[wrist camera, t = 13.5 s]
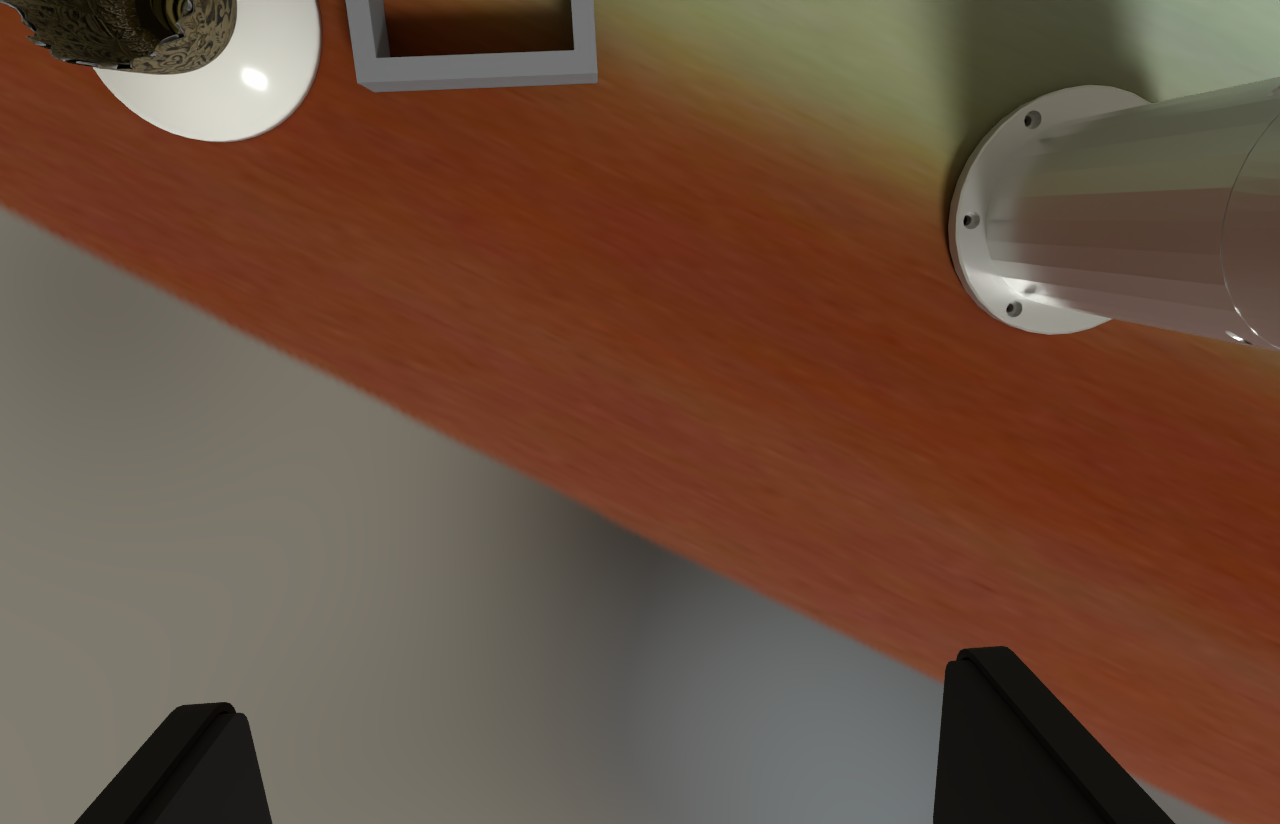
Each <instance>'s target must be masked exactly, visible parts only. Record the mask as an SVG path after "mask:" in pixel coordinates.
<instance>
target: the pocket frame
mask: <svg viewBox="0 0 1280 824" xmlns="http://www.w3.org/2000/svg"><path fill="white" fill-rule="evenodd" d="M571 6H572V22H573V37H574V50H566V51H541V52H516V53H490V54H465V55H440V56H414V57H390V49H389V42H388V34H387V26H386V19H385V11H384V3H383V0H346V7H347V14H348V21H349V28H350V35H351V42H352V49H353V56H354V63H355V70H356V77H357V83H358V84H360V85H362V86H364V87H366V88H368V89H369V90H371V91H373V92H392V91H416V90H441V89H465V88H489V87H513V86H537V85H562V84H586V83H598V73H597V56H596V39H595V21H594V4H593V0H571Z"/></svg>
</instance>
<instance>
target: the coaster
mask: <svg viewBox="0 0 1280 824" xmlns="http://www.w3.org/2000/svg"><path fill="white" fill-rule="evenodd" d="M186 9H188V0H185V2H184V4H183V8H182V12H183V11H184V10H186ZM322 38H323V29H322V18H321V11H320V7H319V2H318V0H237V20H236V25H235V29H234V33H233V35H232V37H231V40H230V42H229V43H228V45H227V47H226V48H225V49H224V51H223V52H222V53H221V54H220V55H219V56H218V57H217V58H216V59H215V60H213V61H212V62H211V63H209V64H207V65H206V66H204V67H202V68H200V69H197V70H195V71H191V72H187V73H181V74H174V75H154V74H143V73H134V72H125V71H117V70H110V69H99V68H96V67H93V68H94V70H95V71H96V73H97V74H98V75H99V77H100V78H101V80H102V81H103V82H104V84H105V85H106V86H107V87H108V88H109V89H110V90H111V92H112V93H113V94H114V95H115V96H116V97H117V98H118V99H119V100H120V101H121V102H122V103H124V104H125V105H126V106H127V107H128V108H129V109H131V110H132V111H133V112H135V113H136V114H137V115H139V116H140V117H141V118H143V119H145V120H146V121H148V122H150V123H152V124H153V125H155V126H157V127H159V128H161V129H164V130H166V131H168V132H171V133H173V134H177V135H180V136H184V137H187V138H192V139H197V140H203V141H210V142H235V141H243V140H246V139H250V138H254V137H257V136H259V135H262V134H264V133H266V132H269V131H271V130H272V129H274V128H275V127H277V126H279V125H280V124H282V123H283V122H284V121H285V120H286V119H287V118H289V117H290V116H291V115H292V114H293V113H294V112H295V111H296V109H297V108H298V107H299V106H300V105H301V104H302V102H303V101H304V99H305V97H306V96H307V94H308V93H309V91H310V89H311V87H312V84H313V82H314V80H315V78H316V74H317V71H318V67H319V64H320V58H321V52H322Z"/></svg>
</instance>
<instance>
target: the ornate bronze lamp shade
mask: <svg viewBox="0 0 1280 824" xmlns="http://www.w3.org/2000/svg"><path fill="white" fill-rule="evenodd" d="M184 2H185V0H0V3H3V4H6V5H8V6H10V7H12V8H14V9H15V10H17V11H18V13H19V14H20V15H21V17H22V23H23V24H24V25H26V26H27V27H28V28H30V29H31V30H32V31H33V32H35V34H34V35H33V36H34V37H33V36H32V37H31V36H27V38H28V39H29V40H30V41H31V42H33V43H34V44H36V45H38V46H41V47H44V48H47V49H50V53H51V56H52V57H54V58H56V59H58V60H61V61H64V62H68V63H72V64H78V65H85V66H90V67H96V68H99V69H110V70H117V71H125V72H134V73H143V74H154V75H174V74H181V73H187V72H191V71H195V70H197V69H200V68H202V67H204V66H206V65H207V64H209V63H211V62H212V61H213V60H215V59H216V58H217V57H218V56H219V55H220V54H221V53H222V52H223V51H224V49H225V48H226V47H227V45H228V43H229V42H230V40H231V37H232V35H233V33H234V29H235V25H236V20H237V0H188V9H186V10H184V11H183V12H182V8H183V4H184Z"/></svg>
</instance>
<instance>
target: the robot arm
mask: <svg viewBox="0 0 1280 824" xmlns="http://www.w3.org/2000/svg"><path fill="white" fill-rule="evenodd" d="M1024 119H1026V121H1027V123H1026V125H1025V123H1024ZM965 216H966V217H967V222H966V224H965V225H964V223H963V220H964V217H965ZM948 233H949V248H950V253H951V257H952V260H953V264H954V268H955V271H956V273H957V275H958V277H959V279H960V281H961V283H962V285H963V287H964V289H965V291H966V292H967V293H968V294H969V296H970V297H971V298H972V299H973V301H974V302H975V303H976V304H977V305H978V306H979V307H980V308H981V309H983V310H984V311H985V312H986V313H988V314H989V315H990V316H991V317H993V318H995V319H997V320H999V321H1001V322H1003V323H1005V324H1007V325H1009V326H1011V327H1015V328H1018V329H1022V330H1025V331H1028V332H1035V333H1042V334H1049V335H1050V334H1067V333H1074V332H1078V331H1082V330H1086V329H1090V328H1093V327H1095V326H1097V325H1100V324H1102V323H1104V322H1107V321H1109V320H1111V319H1117V320H1122V321H1127V322H1132V323H1137V324H1142V325H1147V326H1152V327H1157V328H1162V329H1167V330H1172V331H1177V332H1182V333H1187V334H1192V335H1197V336H1202V337H1207V338H1212V339H1217V340H1222V341H1227V342H1232V343H1237V344H1242V345H1247V346H1253V347H1258V348H1263V349H1268V350H1273V351H1278V352H1280V77H1277V78H1272V79H1267V80H1263V81H1258V82H1253V83H1248V84H1243V85H1238V86H1234V87H1229V88H1224V89H1219V90H1214V91H1209V92H1205V93H1200V94H1195V95H1190V96H1185V97H1180V98H1176V99H1171V100H1166V101H1161V102H1156V103H1150V102H1148V101H1146V100H1145V99H1143V98H1141V97H1139V96H1138V95H1136V94H1134V93H1132V92H1129V91H1126V90H1122V89H1119V88H1115V87H1112V86H1099V85H1084V86H1077V87H1070V88H1064V89H1061V90H1058V91H1054V92H1051V93H1047V94H1044V95H1042V96H1040V97H1037V98H1035V99H1033V100H1031V101H1029V102H1027V103H1025V104H1022V105H1021V106H1019V107H1018V108H1016V109H1015V110H1014V111H1012V112H1011V113H1009V114H1008V115H1007V116H1005V117H1004V118H1002V119H1001V120H1000V121H999V122H998V123H997V124H996V125H995V126H994V127H993V128H992V129H991V130H990V131H989V132H988V133H987V134H986V135H985V136H984V137H983V138H982V140H981V141H980V143H979V144H978V145H977V147H976V148H975V150H974V151H973V152H972V154H971V155H970V157H969V158H968V160H967V162H966V164H965V166H964V168H963V170H962V172H961V174H960V177H959V179H958V181H957V184H956V188H955V191H954V194H953V198H952V201H951V206H950V215H949V224H948ZM1008 305H1009V308H1008V310H1007V311H1006V309H1007V306H1008ZM74 824H272V820H271V816H270V812H269V808H268V803H267V799H266V795H265V790H264V786H263V782H262V778H261V773H260V769H259V765H258V761H257V756H256V752H255V748H254V743H253V739H252V735H251V731H250V726H249V722H248V720H247V717H246V716H245V715H244V714H243V713H236V711H235V709H234V707H233V706H232V705H231V704H230V703H227V702H219V703H205V704H192V705H182V706H179V707H177V708H176V709H175V710H173V712H171V713H170V714H169V715H168V717H167V718H166V719H165V720H164V721H163V722H162V723H161V725H160V726H159V727H158V728H157V729H156V730H155V731H154V733H153V734H152V735H151V736H150V737H149V738H148V740H147V741H146V742H145V743H144V744H143V745H142V747H141V748H140V749H139V750H138V751H137V752H136V754H135V755H134V756H133V757H132V758H131V759H130V760H129V761H128V762H127V764H126V765H125V766H124V767H123V768H122V769H121V771H120V772H119V773H118V774H117V775H116V777H114V779H113V780H112V781H111V782H110V783H109V784H108V785H107V787H106V788H105V789H104V790H103V791H102V792H101V794H100V795H99V796H98V797H97V798H96V799H95V801H94V802H93V803H92V804H91V805H90V806H89V807H88V808H87V810H86V811H85V812H84V813H83V814H82V815H81V816H80V818H79V819H78V820H77V821H76V822H75V823H74ZM933 824H1175V823H1174V822H1173V821H1172V820H1171V819H1170V818H1169V817H1168V815H1167V814H1166V813H1165V812H1164V811H1163V810H1162V809H1161V808H1160V807H1159V806H1158V805H1157V804H1156V803H1155V802H1154V801H1153V800H1152V799H1151V797H1150V796H1149V795H1148V794H1147V793H1146V792H1145V791H1144V790H1143V789H1142V788H1141V787H1140V786H1139V785H1138V784H1137V783H1136V782H1135V780H1134V779H1133V778H1132V777H1131V776H1130V775H1129V774H1128V773H1127V772H1126V771H1125V770H1124V769H1123V768H1122V767H1121V766H1120V765H1119V764H1118V762H1117V761H1116V760H1115V759H1114V758H1113V757H1112V756H1111V755H1110V754H1109V753H1108V752H1107V751H1106V750H1105V749H1104V748H1103V747H1102V746H1101V744H1100V743H1099V742H1098V741H1097V740H1096V739H1095V738H1094V737H1093V736H1092V735H1091V734H1090V733H1089V732H1088V731H1087V730H1086V729H1085V727H1084V726H1083V725H1082V724H1081V723H1080V722H1079V721H1078V720H1077V719H1076V718H1075V717H1074V716H1073V715H1072V714H1071V713H1070V712H1069V711H1068V709H1067V708H1066V707H1065V706H1064V705H1063V704H1062V703H1061V702H1060V701H1059V700H1058V699H1057V698H1056V697H1055V696H1054V695H1053V694H1052V693H1051V691H1050V690H1049V689H1048V688H1047V687H1046V686H1045V685H1044V684H1043V683H1042V682H1041V681H1040V680H1039V679H1038V678H1037V677H1036V676H1035V674H1034V673H1033V672H1032V671H1031V670H1030V669H1029V668H1028V667H1027V666H1026V665H1025V664H1024V663H1023V662H1022V661H1021V660H1020V659H1019V658H1018V656H1017V655H1016V654H1015V653H1014V652H1013V651H1011V650H1010V649H1009V648H1008V647H1004V646H996V647H982V648H968V649H963V650H961V651H960V652H959V654H958V655H957V660H956V661H950V662H948V664H947V666H946V670H945V681H944V693H943V705H942V717H941V729H940V741H939V754H938V765H937V777H936V789H935V803H934V813H933Z"/></svg>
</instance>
